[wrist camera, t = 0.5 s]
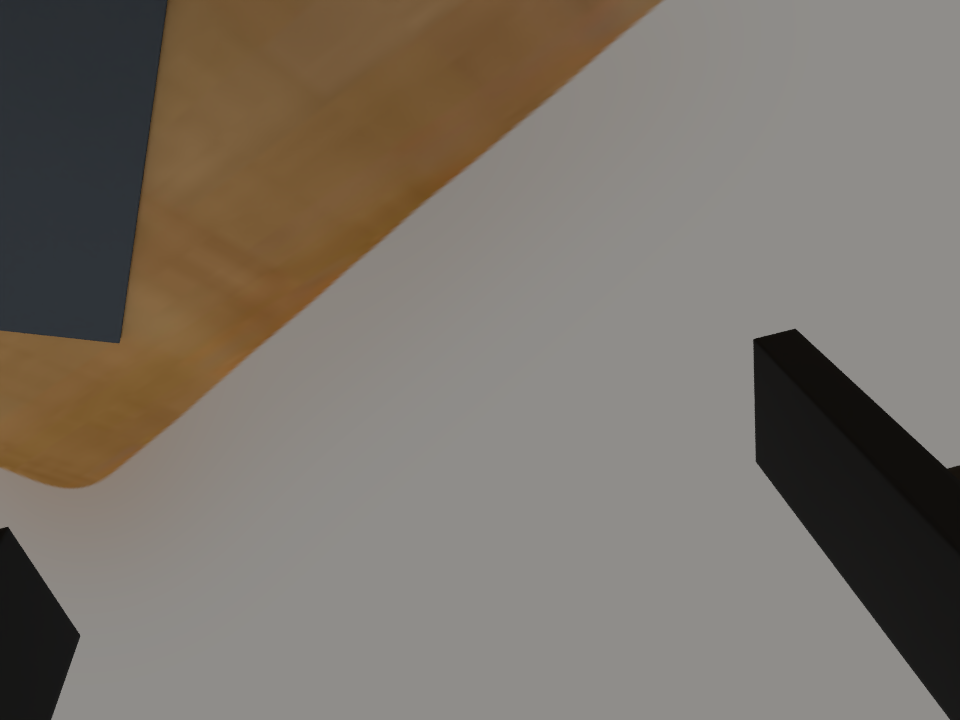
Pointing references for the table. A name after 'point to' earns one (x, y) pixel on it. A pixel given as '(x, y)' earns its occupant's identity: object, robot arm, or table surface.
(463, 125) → the table surface
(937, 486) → the robot arm
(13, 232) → the placemat
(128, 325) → the table surface
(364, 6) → the table surface
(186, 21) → the table surface
